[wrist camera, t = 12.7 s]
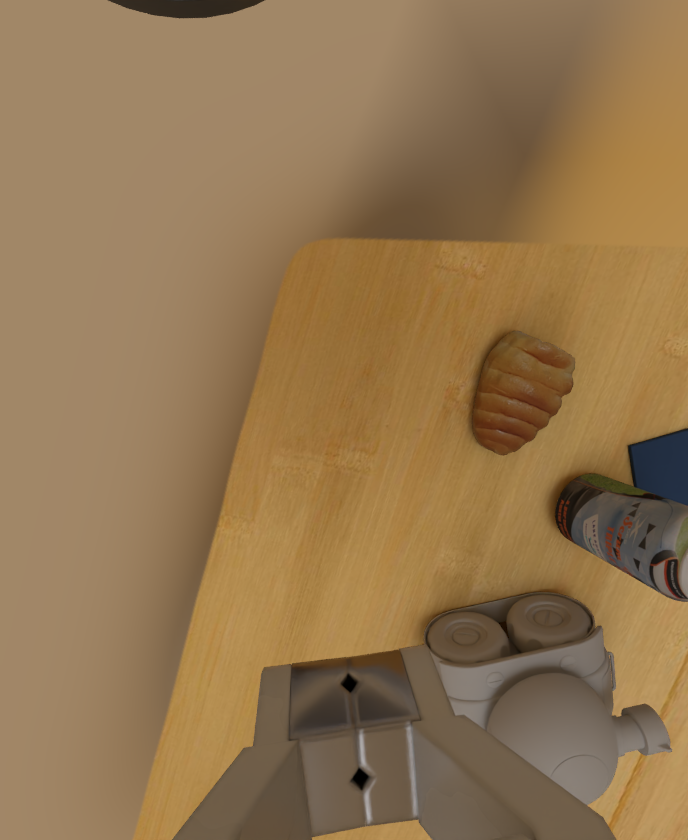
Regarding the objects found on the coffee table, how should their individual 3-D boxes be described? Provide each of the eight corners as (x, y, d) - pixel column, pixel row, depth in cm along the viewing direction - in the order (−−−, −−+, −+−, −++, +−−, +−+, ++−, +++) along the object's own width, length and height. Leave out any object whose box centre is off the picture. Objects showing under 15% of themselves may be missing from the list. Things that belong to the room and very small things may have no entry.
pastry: (520, 461, 39) (543, 474, 35) (448, 432, 38) (463, 443, 34) (570, 356, 37) (599, 358, 34) (497, 323, 37) (518, 322, 33)
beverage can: (538, 483, 39) (638, 548, 28) (619, 455, 39) (753, 507, 28) (555, 548, 41) (657, 636, 29) (634, 520, 41) (767, 597, 29)
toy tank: (574, 580, 41) (693, 690, 29) (584, 682, 43) (699, 827, 31) (409, 616, 41) (456, 745, 28) (427, 717, 43) (478, 880, 30)
